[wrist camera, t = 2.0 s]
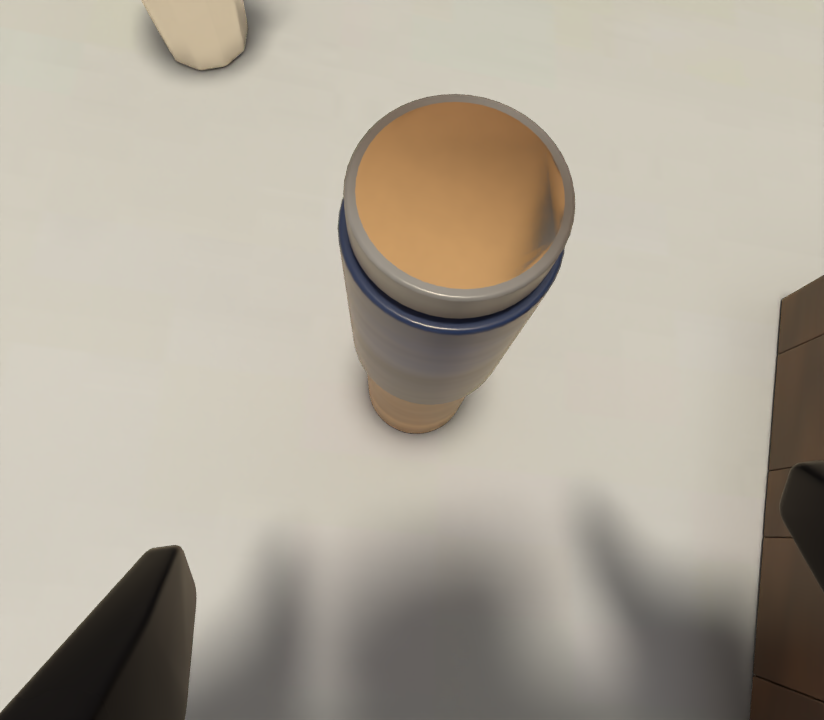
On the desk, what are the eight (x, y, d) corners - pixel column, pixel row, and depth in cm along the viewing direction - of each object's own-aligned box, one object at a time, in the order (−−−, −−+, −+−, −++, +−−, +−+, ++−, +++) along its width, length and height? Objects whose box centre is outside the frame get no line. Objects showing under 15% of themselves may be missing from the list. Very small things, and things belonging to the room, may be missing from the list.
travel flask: (456, 453, 20) (564, 339, 8) (348, 426, 20) (301, 274, 8) (480, 349, 21) (604, 114, 9) (376, 324, 21) (369, 60, 9)
